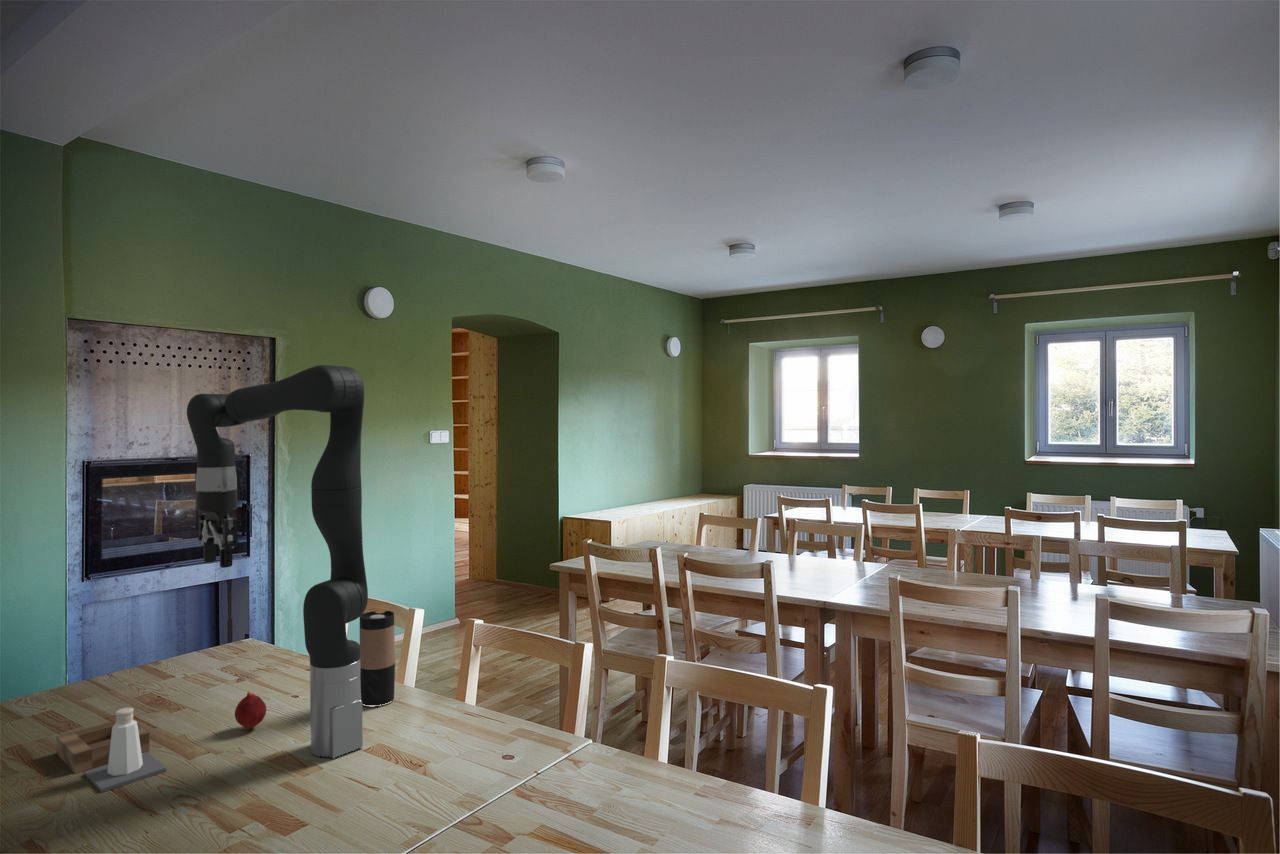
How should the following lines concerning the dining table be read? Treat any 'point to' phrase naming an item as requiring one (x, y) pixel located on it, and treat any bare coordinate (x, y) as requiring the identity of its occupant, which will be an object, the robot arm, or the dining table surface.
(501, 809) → the dining table surface
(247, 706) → the onion
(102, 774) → the rubber pad
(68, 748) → the socket block
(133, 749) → the pepper shaker
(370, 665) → the travel mug
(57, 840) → the dining table surface
